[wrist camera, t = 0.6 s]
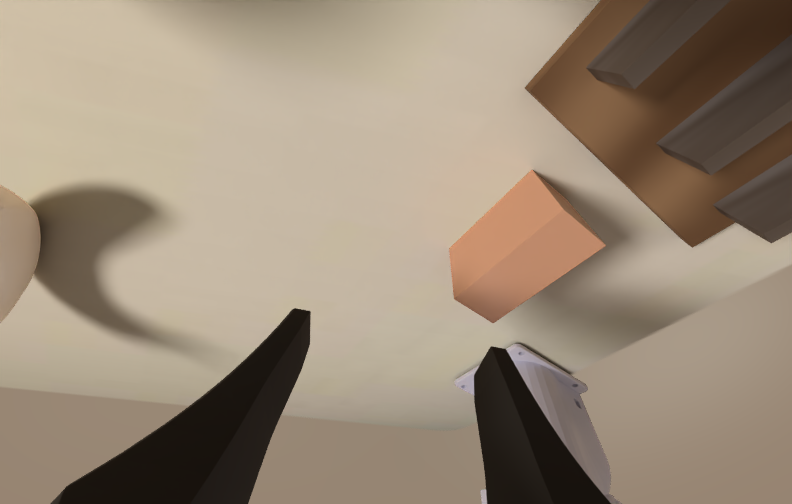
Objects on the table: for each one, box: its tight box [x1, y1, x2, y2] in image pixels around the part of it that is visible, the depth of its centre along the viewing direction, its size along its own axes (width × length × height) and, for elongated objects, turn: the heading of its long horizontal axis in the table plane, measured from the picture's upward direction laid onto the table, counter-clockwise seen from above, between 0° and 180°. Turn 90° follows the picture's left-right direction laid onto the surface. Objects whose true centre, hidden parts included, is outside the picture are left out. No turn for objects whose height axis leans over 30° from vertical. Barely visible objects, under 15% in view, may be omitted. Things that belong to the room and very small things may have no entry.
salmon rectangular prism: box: [449, 170, 606, 323], centre depth 17 cm, size 3×7×5 cm, turn 144°
